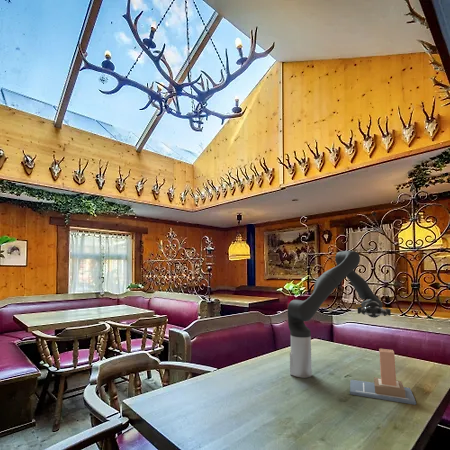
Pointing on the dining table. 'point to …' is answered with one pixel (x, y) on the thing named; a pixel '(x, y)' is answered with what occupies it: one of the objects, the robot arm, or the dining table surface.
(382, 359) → the terracotta pillar
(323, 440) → the dining table surface
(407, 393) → the blueprint board
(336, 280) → the robot arm
